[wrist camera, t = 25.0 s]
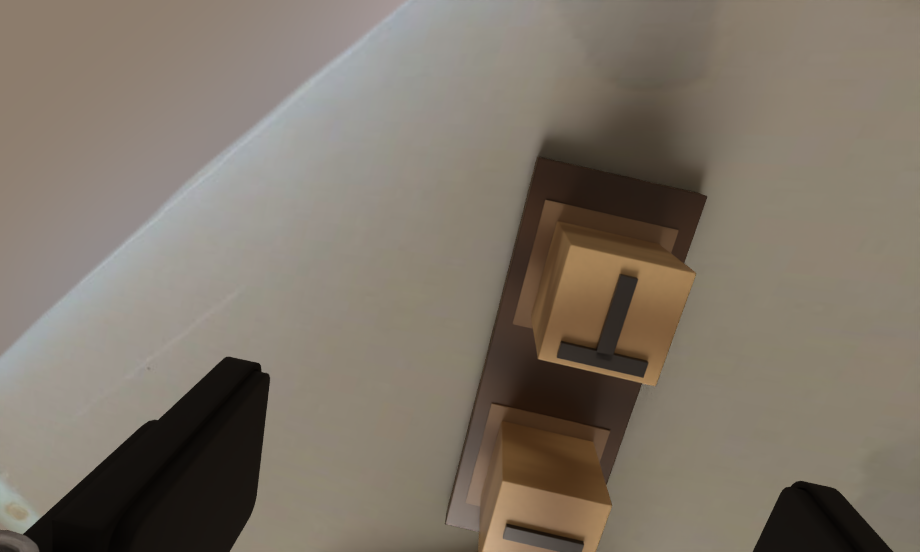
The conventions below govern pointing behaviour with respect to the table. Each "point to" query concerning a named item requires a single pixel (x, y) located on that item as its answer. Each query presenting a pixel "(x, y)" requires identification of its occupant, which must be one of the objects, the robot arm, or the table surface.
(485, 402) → the dark brown wooden board
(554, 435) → the letter I
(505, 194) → the table surface
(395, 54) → the table surface
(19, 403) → the table surface
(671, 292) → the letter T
